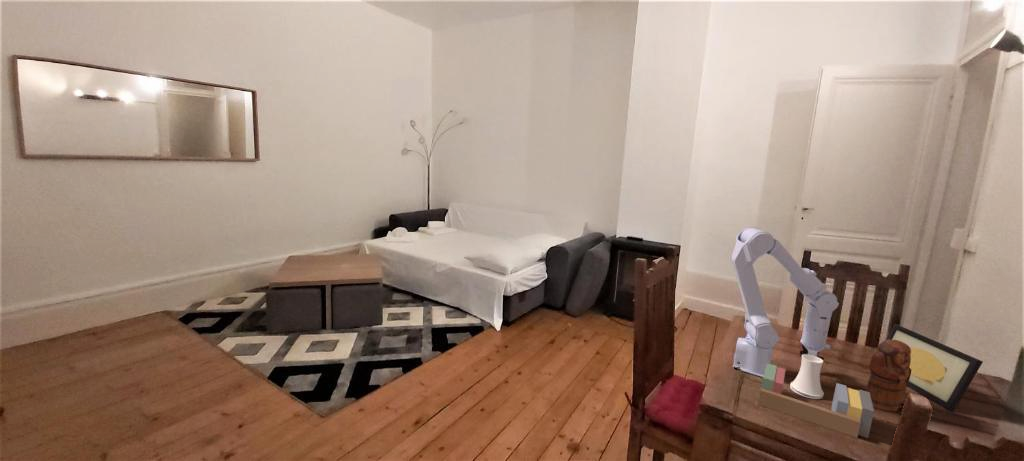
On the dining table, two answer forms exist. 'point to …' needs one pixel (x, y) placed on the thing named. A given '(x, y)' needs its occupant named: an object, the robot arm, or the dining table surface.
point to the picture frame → (936, 368)
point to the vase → (809, 378)
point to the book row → (847, 408)
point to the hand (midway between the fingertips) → (807, 370)
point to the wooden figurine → (889, 375)
